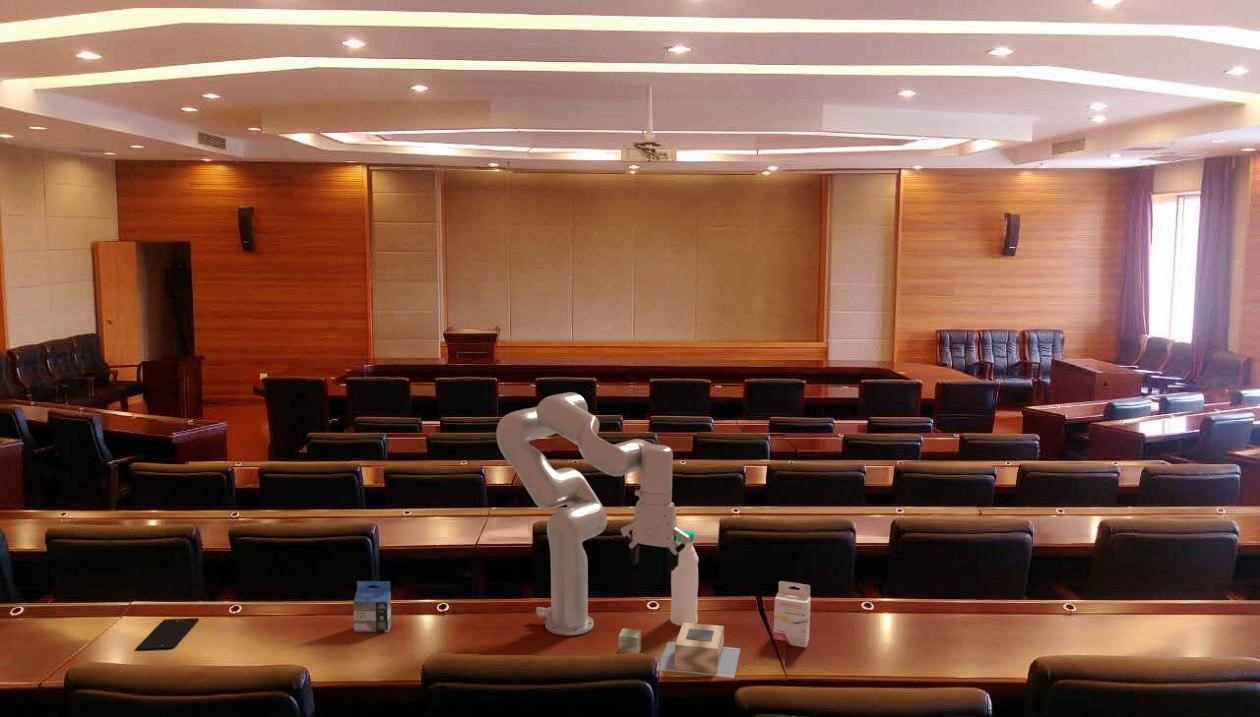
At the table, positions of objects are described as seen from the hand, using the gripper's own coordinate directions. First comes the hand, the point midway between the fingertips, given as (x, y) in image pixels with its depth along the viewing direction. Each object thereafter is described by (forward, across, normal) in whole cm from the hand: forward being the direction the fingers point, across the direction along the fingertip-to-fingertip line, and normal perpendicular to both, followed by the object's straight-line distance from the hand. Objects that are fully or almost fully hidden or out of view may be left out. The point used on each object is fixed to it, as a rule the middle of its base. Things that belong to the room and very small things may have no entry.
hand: (654, 565), depth 224 cm
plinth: (+21, +12, -1) cm, 24 cm away
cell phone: (+25, -118, -35) cm, 125 cm away
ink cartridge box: (+22, +30, +19) cm, 42 cm away
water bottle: (+22, +2, +19) cm, 30 cm away
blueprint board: (+22, +12, -1) cm, 25 cm away
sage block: (+22, -4, -4) cm, 23 cm away
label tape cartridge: (+24, -72, -14) cm, 77 cm away
